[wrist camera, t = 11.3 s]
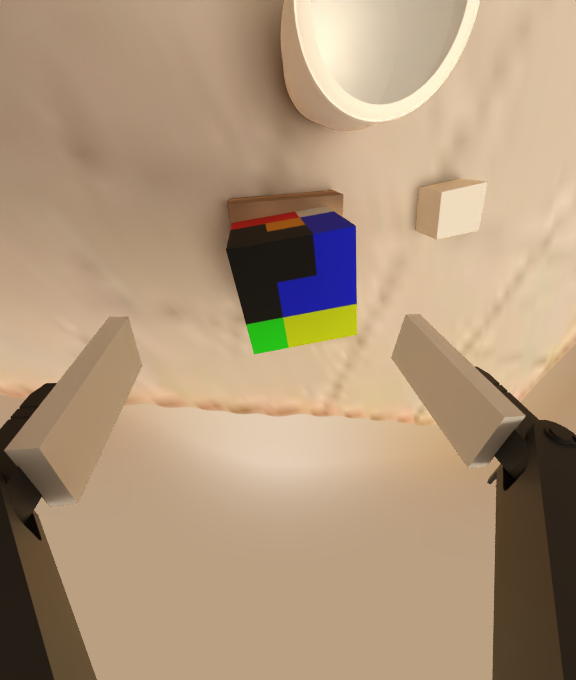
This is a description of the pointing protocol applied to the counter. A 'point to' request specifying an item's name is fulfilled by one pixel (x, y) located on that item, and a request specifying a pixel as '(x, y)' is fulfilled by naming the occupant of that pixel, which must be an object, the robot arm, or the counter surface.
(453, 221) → the beige wooden block
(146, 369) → the counter surface
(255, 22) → the counter surface
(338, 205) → the walnut block
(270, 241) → the puzzle toy
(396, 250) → the counter surface
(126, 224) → the counter surface
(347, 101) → the jar
